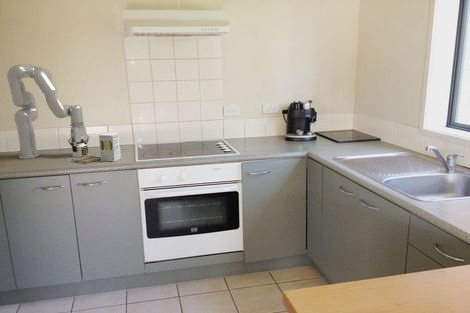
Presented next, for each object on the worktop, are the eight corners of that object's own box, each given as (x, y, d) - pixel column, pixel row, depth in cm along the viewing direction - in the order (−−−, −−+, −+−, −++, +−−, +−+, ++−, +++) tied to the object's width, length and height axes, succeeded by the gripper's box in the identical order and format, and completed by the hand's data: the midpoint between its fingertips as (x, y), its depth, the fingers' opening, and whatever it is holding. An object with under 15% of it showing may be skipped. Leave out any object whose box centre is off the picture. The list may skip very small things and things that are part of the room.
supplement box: (100, 161, 258) (98, 134, 254) (107, 157, 267) (105, 132, 263) (115, 161, 256) (112, 135, 252) (121, 158, 265) (119, 132, 261)
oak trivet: (72, 161, 258) (72, 159, 258) (87, 157, 268) (86, 155, 268) (86, 163, 252) (85, 161, 252) (100, 159, 263) (100, 157, 262)
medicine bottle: (82, 157, 269) (80, 139, 267) (72, 156, 271) (70, 138, 268) (88, 154, 276) (86, 137, 273) (78, 154, 278) (76, 136, 275)
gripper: (70, 126, 259) (73, 153, 264) (91, 122, 274) (94, 148, 278) (62, 126, 263) (65, 152, 267) (83, 122, 278) (86, 147, 282)
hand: (80, 150), depth 273 cm, fingers closed on medicine bottle, 8 cm apart
